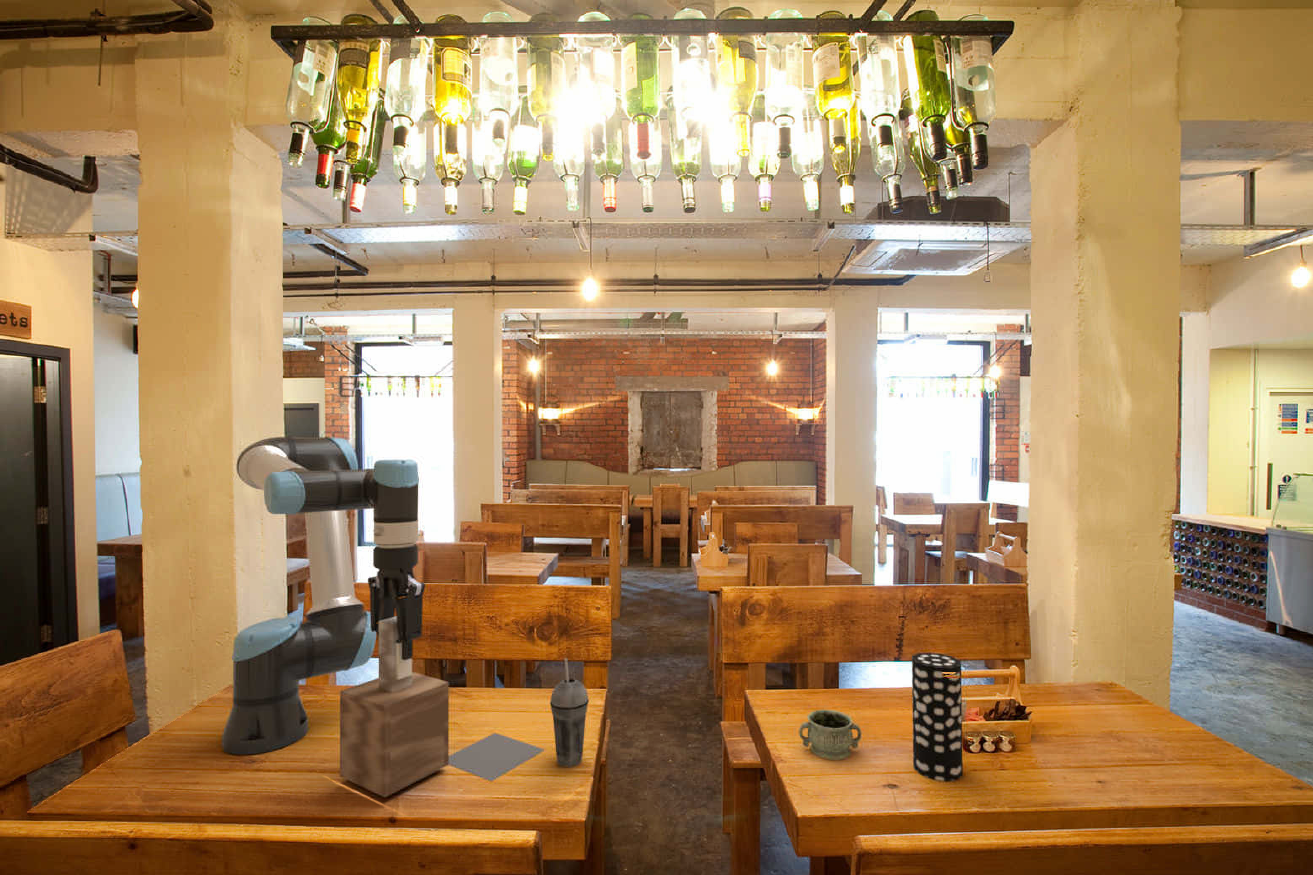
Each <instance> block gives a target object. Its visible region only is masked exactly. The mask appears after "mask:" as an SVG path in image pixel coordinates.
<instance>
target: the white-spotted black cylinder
mask: <svg viewBox="0 0 1313 875" xmlns="http://www.w3.org/2000/svg"><path fill="white" fill-rule="evenodd" d="M911 668H912V669H911V677H912V678H911V679H912V680H911V682H912V684H911V688H912V689H911V690H912V694H911V695H912V696H911V698H912V700H911V701H912V766H913V769H914V770H915V771H916V773H918V774H920V775H921V776H924V777H926V778H928V779H932V780H936V781H940V782H942V781H943V782H953V781H957V780H960V779H961V778H962V777H963V774H964V773H963V765H964V764H963V712H962V711H963V708H962V707H963V705H962V704H963V703H962V702H963V701H962V700H963V698H962V694H963V693H962V662H961V660H960V659H958V658H956V657H954V656H951V655H949V654H948V655H947V654H944V653H943V654H942V653H936V652H921V653H920V652H919V653H915V654H913V655H912V656H911ZM942 672H956V673H955V674H943V673H942ZM945 675H954V676H959V677H961V678H947V677H942V676H945Z"/></svg>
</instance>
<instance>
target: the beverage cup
mask: <svg viewBox="0 0 1313 875" xmlns="http://www.w3.org/2000/svg"><path fill="white" fill-rule="evenodd" d="M564 670H565V679H562V680H561V681H560V682H558V683H557V684H556V685H555V687H554V689H553V690H552V693H551V698H550V702H549V704H550V710H551V714H552V719H553V731H554V743H555V745H554V746H555V755H556V760H557V764H558V765H559V766H560V767H564V768H572V767H576V766H578V765H580V764H581V763H582V761H583V754H584V741H585V730H586V728H585V727H586V717H587V716H586V715H587V712H588V711H587V710H588V705H589V701H590V700H589V694H588V691H587V689H586V687H585V686H584V684H583V683H582V682H581V681H579V680H577V679H574V678H569V664H568V658H567V657H565V658H564Z"/></svg>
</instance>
